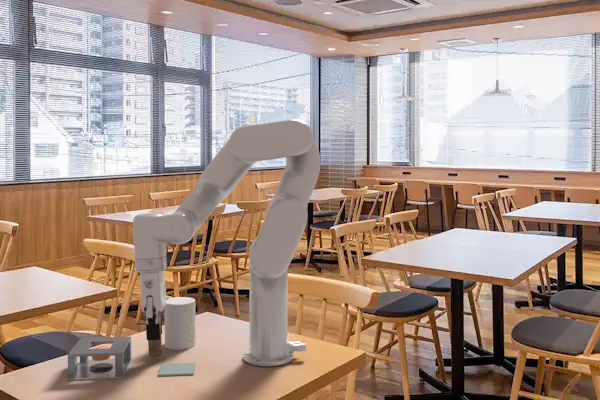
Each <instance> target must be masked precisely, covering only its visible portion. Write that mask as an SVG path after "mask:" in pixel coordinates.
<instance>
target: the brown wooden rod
mask: <svg viewBox="0 0 600 400" xmlns="http://www.w3.org/2000/svg"><path fill="white" fill-rule="evenodd" d="M153 311H156V309H153ZM153 315H155V314H153ZM160 319H161V318H160V311H158V323H160V339H159V340H147V342H148V343H147V344H148V346H147V349H148V357H149V358H154V359H155V358H160V357H162V356H163V348H162V347H163V346H162V345H163V343H162V334H161V321H160Z"/></svg>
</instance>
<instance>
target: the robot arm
mask: <svg viewBox="0 0 600 400" xmlns="http://www.w3.org/2000/svg"><path fill="white" fill-rule="evenodd" d="M313 132H314V131H313V130H312V128H311V126H310V125H309V124H308V123H307V122H306V121H304V120H301V119H297V118H291V119H287V120H280V121H279V120H278V121H273V122H266V123H260V124H259V123H258V124H250V125H249V124H248V125H243V126H242V125H241V126H239V127H237V128H236V129H235V130H234V131H232V133H231V135H230V136H229V139H227V141H226V142H225V143H224V145H223V146H222V147H221V148H220V150H219V151H218V152H217V154H216V155H215V156H214V157H213V158H212V159H211V161H210V162H209V163H208V165H207V166H206V167H205V168H204V169H203V171H202V172H201V174H200V175H199V178H198V180H197V182H196V184H195V185H194V187H193V189H192V190H191V191H190V192H189V194H188V195H187V196H186V198H185V199H184V200H183V201H182V202H181V204H180V205H179V206H178V208H176V210H175V211H174V212H173V213H171V214H165V215H163V214H161V213H156V212H151V213H150V212H148V213H140V214H137V215H135V216H134V217H133V220H132V228H133V247H134V250H133V251H134V252H133V253H134V265H135V268H134V269H135V272H136V273H139V277H140V278H139V279H140V282H139V283H140V284H139V285H140V305H141V311H142V312H143V313H144V314H145V322H146V324H145V329H146V330H145V331H146V333H145V335H146V341H148V340H159V339H160V323H158V311H160V321H161V335H162V334H163V325H162V323H163V322H162V321H163V320H162V319H163V318H162V314H161V313H162V312H164V308H165V305H166V299H167V293H166V281H165V272H164V271H166V270H167V269H168V263H167V262H168V261H167V245H166V244H170V245H171V244H173V245H183V244H186V243H188V242H190V241H191V239H192V238H193V237H195V235H196V233H197V232H198V231H199V229H200V228H201V227H202V225H203V224H205V222H206V220H207V219H208V218H209V216H210V215H212V213H213V212H214V211H215V209H216V208H218V206H219V205H220V203H222V202H223V201H224V200H225V199H227V198H228V196H229V195H231V193H232V192H233V191H234V189H235V188H236V187H237V186H238V184H239V183H240V182H241V181H242V179H243V178H244V177H245V176H246V175H247V173H248V172H249V171H250V169H251V168H252V167H253V166H254V165H255V163H256V162H261V161H262V162H263V161H270V160H276V159H283V158H286V159H285V161H286V163H285V167H284V169H283V173H282V175H281V178H280V181H279V183H278V185H277V188H276V190H275V192H274V194H273V196H272V197H271V200H270V202H269V203H268V206H267V210H266V215H265V217H264V219H263V222H262V225H261V227H260V229H259V232H258V234H257V236H256V237H254V239H253V241H251V244H250V245H249V250H248V260H249V261H248V262H249V297H248V298H249V299H248V300H249V301H248V302H249V349H247V350H245V351H244V352H243V356H242V357H243V360H244V361H245V362H246V363H248V364H250V365H253V366H257V367H258V366H259V367H276V366H277V367H278V366H283V365H286V364H288V363H291V362H292V361H293V359H294V352H306V351H307V345H306V343H301V342H300V341H290V339H289V337H288V297H289V296H288V294H289V292H288V291H289V290H288V288H289V287H288V286H289V285H288V282H289V278H288V277H289V276H288V275H289V274H288V268H289V266H290V264H291V262H292V260H293V258H294V255H295V253H296V251H297V248H298V246H299V243H300V241H301V239H302V236H303V235H304V232H305V229H306V226H307V223H308V216H309V215H308V210H307V207H308V204H309V202H310V199H311V197H312V195H313V192H314V189H315V186H316V184H317V181H318V179H319V176H320V172H321V171H320V170H321V155H320V151H319V147H318V145H317V142H316V140H315V139H314V133H313ZM153 309H156V311H153ZM153 314H155V315H153Z"/></svg>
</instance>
